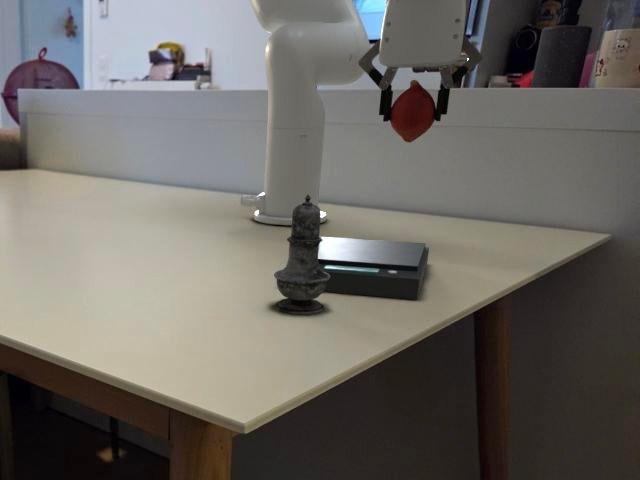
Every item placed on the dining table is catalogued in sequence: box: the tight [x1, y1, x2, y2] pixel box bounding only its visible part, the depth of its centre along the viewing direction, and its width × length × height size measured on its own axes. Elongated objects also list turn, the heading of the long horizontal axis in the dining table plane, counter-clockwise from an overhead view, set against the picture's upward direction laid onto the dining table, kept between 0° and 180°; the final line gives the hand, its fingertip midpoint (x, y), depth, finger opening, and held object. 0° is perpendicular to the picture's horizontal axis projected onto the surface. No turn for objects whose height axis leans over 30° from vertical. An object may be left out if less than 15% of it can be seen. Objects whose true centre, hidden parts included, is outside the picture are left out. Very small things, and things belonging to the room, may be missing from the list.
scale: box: [318, 236, 430, 300], centre depth 91 cm, size 15×18×3 cm
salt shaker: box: [273, 194, 330, 315], centre depth 77 cm, size 6×6×12 cm
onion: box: [389, 79, 437, 144], centre depth 99 cm, size 6×6×8 cm
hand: (411, 119), depth 99 cm, fingers closed on onion, 5 cm apart
